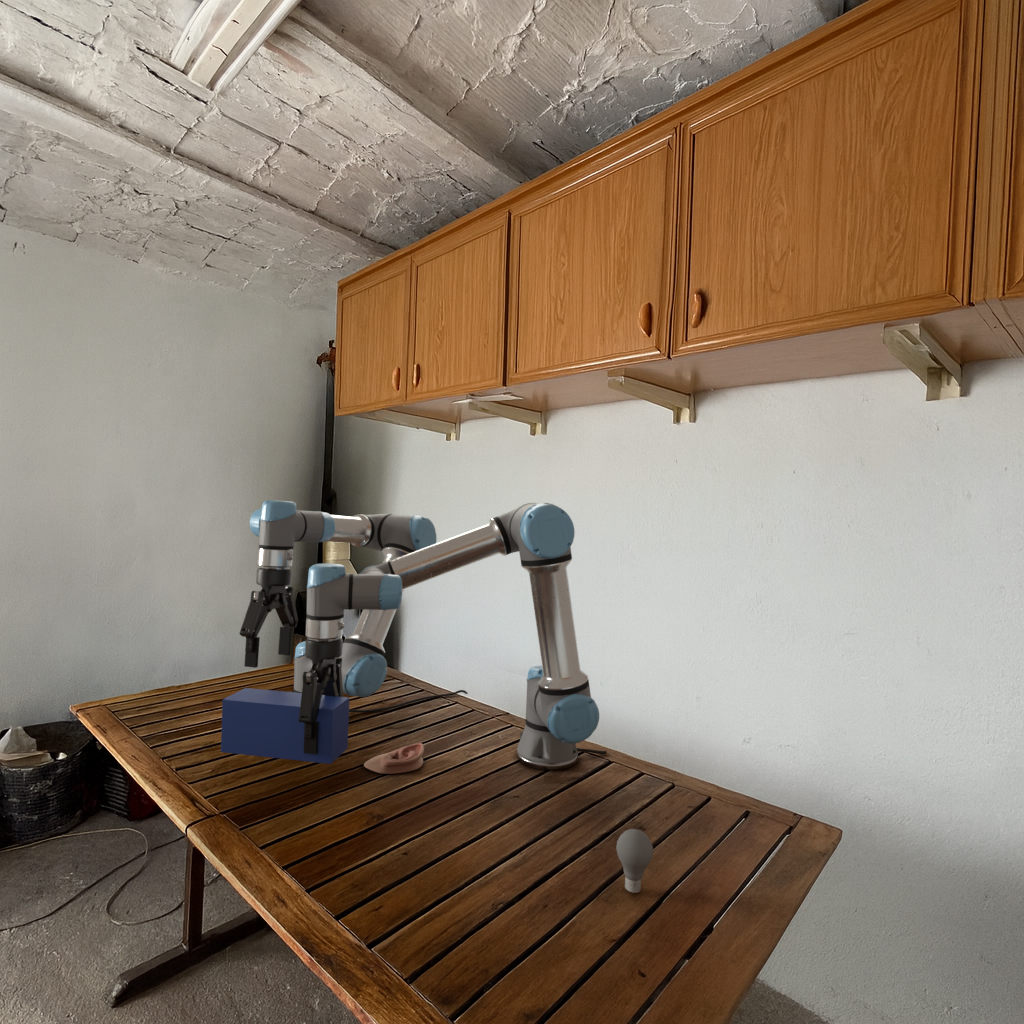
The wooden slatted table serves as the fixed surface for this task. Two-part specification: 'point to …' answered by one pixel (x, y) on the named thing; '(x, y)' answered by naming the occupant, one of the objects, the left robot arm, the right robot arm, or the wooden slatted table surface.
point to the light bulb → (634, 857)
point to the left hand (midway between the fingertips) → (268, 660)
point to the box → (282, 725)
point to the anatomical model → (397, 760)
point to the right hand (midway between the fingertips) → (320, 744)
